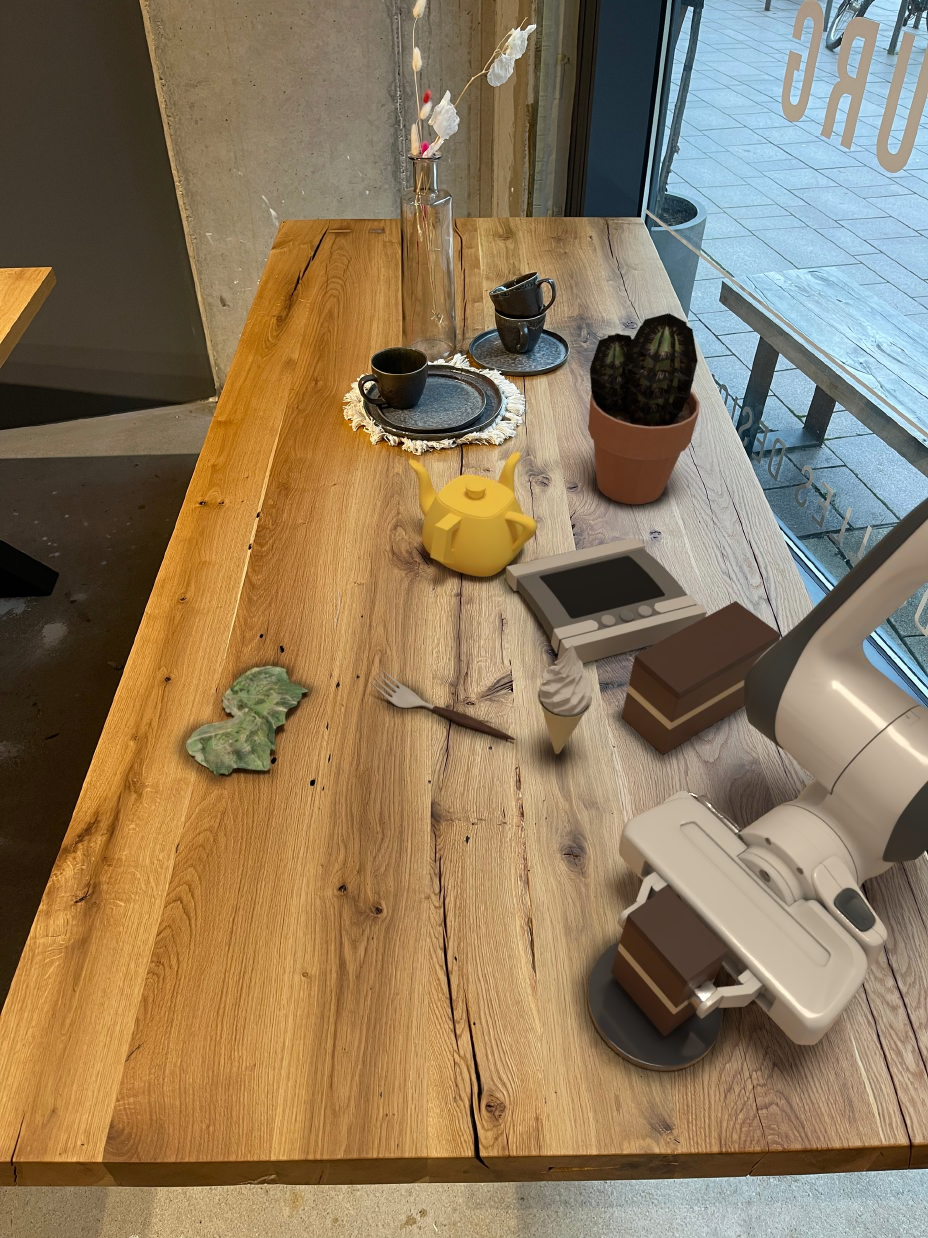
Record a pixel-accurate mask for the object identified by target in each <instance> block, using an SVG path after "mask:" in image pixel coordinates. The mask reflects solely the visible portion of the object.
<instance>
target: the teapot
mask: <svg viewBox="0 0 928 1238" xmlns="http://www.w3.org/2000/svg"><path fill="white" fill-rule="evenodd" d="M520 458H521V452H520V451H515V452H513V453H512V454H511V455H509V457H508V458H507V459H506V461H505V463H504V466H503V467H502V470H501V473H500V475H499V477H498V480H497V481H496V480H493V479H491V478H489V477H484V476H481V475H476V474H461V475H459V476H456V477H455V478H453V479H451V480H450V481H449V482H448V483H447V484H445V485H444V486H443V487H442V488H441V489H440V490H439V491H438V493H437V492H436V490H435V487H434V485H433V481H432V479H431V476H430V474H429V472H428V469H426V468H425V466H424V465H423V464H422V463H420V462H419V461H417V460H415V459H409V460H408V463H409V466H410V467H411V468H412V470H413V471H414V473H415V475H416V477H417V482H418V503H419V504H418V505H419V508H420V511H421V513H422V515H423V517H424V520H423V525H422V531H421V542H422V545H423V546H424V548H425V550H426V552H428V554H429V556H430V558H431V559H433V560H436V561H437V562H439V563H440V564H442V566H444V567H446V568H448V569H450V570H453V571H455V572H458V573H461V574H465V575H468V576H473V577H481V578H483V577H484V578H485V577H491V576H494V575H496V574H498V573H499V572H501V571H502V570H503V569H504V568H506V567H507V566H509V564H510V563H511V562H512V561H513V560H515V558H516V557H517V556H518V554H519V553H520V552H521V551H522V549H523V547H524V546H525V544H527V542H529V541H530V540H531V539H532V538H533V537H534V536H535V534H536V532H537V529H538V524H537V521H535V519H534V518H533V517H531V516H529V515H526V514H524V512H523V510H522V507H521V505H520V503H519V501H518V498H517V497H516V493H515V491H516V490H515V472H516V471H515V470H516V468H517V465H518V462H519V461H520Z"/></svg>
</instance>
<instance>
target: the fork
mask: <svg viewBox="0 0 928 1238" xmlns="http://www.w3.org/2000/svg"><path fill="white" fill-rule="evenodd" d="M380 671H382V672H383V674H385V675H386V676H387V677H388V678H389V679H390V680H391V681H392V682H393V683H394V684H395V685H397V686H395V685H394V684H393V683H391V682H390V681H389V680H387V679H386V678H385V677H384V676H383V675H381V673H379V672H376V674H377V675H378V676H379V677H380V678H381V679H382V680H383V681H384V682H385V683H386V684H387V685H388V686H389V687H391V689H393V690H394V691H395V692H394V691H393V690H391V689H390V688H389V687H387V686H386V685H385V684H384V683H382V682H381V681H380V680H379V679H377V678H376V677H375V676H373V679H374V681H376V682H377V683H378V684H379V685H380V686H381V687H382V688H383V689H384V690H385V691H387V692H388V693H389V694H390V695H391V696H390V695H388V694H387V693H386V692H384V690H382V689H381V688H379V687H378V686H377V685H375V684H374V683H373V682H372V681H369V684H371V685H372V686H373V687H374V688H375V689H376V690H377V691H378V692H379V693H380V694H381V695H383V696H384V697H385V698H386V699H387V700H388V701H389V702H391V703H392V704H393V705H394V706H396V707H398V708H401V709H410V708H417V707H425V708H428V709H430V710H432V711H434V712H436V713H437V714H439V715H441V716H443V717H445V718H447V719H449V720H450V721H452V722H455V723H457V724H460V725H462V726H464V727H467V728H471V729H474V730H478V731H481V732H485V733H488V734H492V735H494V736H497V737H500V738H503V739H507V740H511V741H516V738H515V737H513V736H512V735H510V734H507V733H505V732H503V731H502V730H500V729H497V728H495V727H493V726H491V725H489V724H487V723H485V722H483V721H481V720H479V719H477V718H475V717H473V716H470V715H468V714H466V713H463V712H460V711H457V710H453V709H449V708H445V707H441V706H438V705H434V704H431V703H428V702H426V701H424V700H423V699H422V698H421V697H419V696H418V694H416V693H415V692H414V691H413V690H412V689H410V688H409V687H407V686H406V685H404V684H402V683H400V681H397V680H396V679H395V678H394V677H393V676H391V675H390V674H389V673H388V672H387V671H386V670H384V669H383V668H382V667H381V668H380Z"/></svg>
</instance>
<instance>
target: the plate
mask: <svg viewBox="0 0 928 1238" xmlns="http://www.w3.org/2000/svg"><path fill="white" fill-rule="evenodd" d="M619 943H620V940H619V941H617V942H614V943H613V944H612V945H610V946H609V947H608V948H607V949H605V950H604V951H603V952H602V953H601V954H600V956H599V957H598V959H596V962H595V963H594V965H593V967H592V968H591V969H592V970H591V973H590V975H589V980H588V985H587V1006H588V1010H589V1015H590V1018H591V1020H592V1023H593V1025H594V1027H595V1030H596V1031H597V1032H598V1034H599V1035H600V1037H601V1038H602V1040H603V1041H604V1042H605V1043H606V1044H607V1046H608V1047H609V1048H610V1049H612V1051H614V1052H615V1053H616V1054H617V1055H618V1056H620V1057H621V1058H623V1059H624V1060H626V1061H628V1062H629V1063H631V1064H633V1065H635V1066H637V1067H640V1068H644V1069H648V1070H652V1071H657V1072H672V1071H679V1070H683V1069H686V1068H688V1067H690V1066H693V1065H695V1064H696V1063H698V1062H699V1061H700V1060H702V1059H703V1058H704V1057H706V1055H707V1054H709V1052H710V1051H711V1050H712V1048H713V1046H714V1045H715V1044H716V1041H717V1039H718V1037H719V1035H720V1032H721V1029H722V1024H723V1018H724V1008H719V1007H718V1006H717V1007H716V1008H715V1009H714V1010H712V1011H711V1012H710V1013H709V1014H707V1015H706V1016H705V1017H704V1018H700V1017H699V1016H698V1015H697V1014H696V1012H695V1013H694V1014H693V1015H691V1016H690V1017H689V1018H688V1019H686V1020H685V1021H684V1022H682V1023H681V1024H680V1025H679V1026H677V1027H676V1028H675V1029H674V1030H672V1031H671V1032H670V1033H669V1034H667V1035H666V1036H663V1035H662V1033H661V1032H660V1031H659V1030H658V1029H657V1027H656V1026H655V1025H654V1024H653V1023H652V1021H651V1020H650V1019H649V1018H648V1017H647V1015H646V1014H645V1013H644V1012H643V1011H642V1009H641V1008H640V1007H639V1006H638V1005H637V1003H636V1002H635V1001H634V1000H633V999H632V997H631V996H630V995H629V994H628V993H627V991H626V990H625V989H624V988H623V987H622V985H621V984H620V983H619V982H618V981H617V979H616V978H615V977H614V976H613V975H612V973H611V970H612V967H613V963H614V960H615V957H616V953H617V950H618V946H619ZM713 985H714V986H715V988H719V986H718V984H717V982H716V979H715V980H714V982H713Z"/></svg>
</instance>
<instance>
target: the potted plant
mask: <svg viewBox="0 0 928 1238" xmlns="http://www.w3.org/2000/svg"><path fill="white" fill-rule="evenodd" d="M696 348H697V347H696V343H695V335H694V331H693V328H692V327H690V326H688V323H687V321H686V320H683V319H681V318H679V317H678V316H675V315H673V314H671V313H670V312H667V313H664V314H660V315H656V316H652V317H648V318H645V319H644V320H643V322H642V323H641V325H639V327H638V329H637V330H636V333H635V335H634V336H633V338H632V336H631V335H630V334H621V333H618V332H616V333H614V334H608V335H607V337H604V338H602V339H599V340H598V343H597V346H596V349H595V351H594V355H593V358H592V360H591V363H590V367H589V378H590V391H591V393H590V400H589V412H588V415H589V416H588V425H587V426H588V427H587V430H588V432H589V435H590V437H591V439H592V440H593V449H594V461H595V472H596V473H595V474H596V484H597V487H598V490H599V491H600V492H601V493H602V494H603V495H604V496H606V497H608V498H609V499H611V500H612V501H615V502H617V503H620V504H625V505H626V504H627V505H644V504H648V503H652V502H654V501H656V500H657V499H659V498H660V497H661V495H663V493H664V491H665V489H666V487H667V484H668V482H669V480H670V477H671V475H672V474H673V471H674V468H675V466H676V464H677V462H678V460H679V458H680V456H681V453H683V452H684V451H685V450H686V449H687V448H688V447H689V445H690V444H691V442H692V438H693V435H694V431H695V427H696V424H697V420H698V417H699V413H700V402H701V401H699V399H698V397H697V395H696V393H694V392H693V391H692V387H693V384H694V380H695V379H694V378H695V374H696V370H697V365H698V361H699V359H698V353H697V349H696Z"/></svg>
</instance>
